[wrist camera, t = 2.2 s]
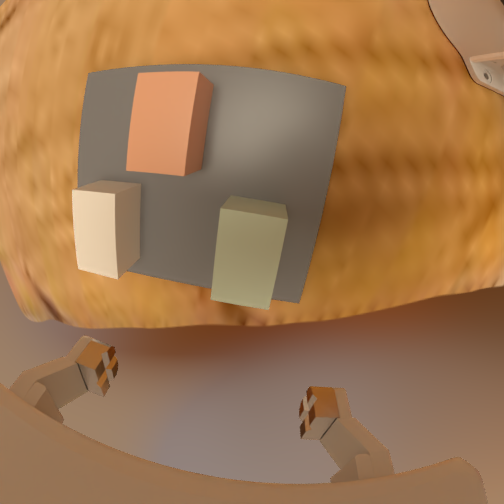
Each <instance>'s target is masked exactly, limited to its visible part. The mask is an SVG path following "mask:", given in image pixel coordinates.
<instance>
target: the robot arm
mask: <svg viewBox="0 0 504 504" xmlns="http://www.w3.org/2000/svg"><path fill="white" fill-rule="evenodd" d="M428 1H429V5H430V7H431V10H432V12H433V14H434V16H435V18H436V20H437V22H438V24H439V25H440V27H441V28H442V30H443V32H444V33H445V34H446V36H447V37H448V39H449V40H450V41H451V42H452V44H453V45H454V46H455V47H456V49H457V50H458V51H459V53H460V54H461V56H462V57H463V59H464V62H465V64H466V66H467V69H468V71H469V73H470V75H471V77H472V78H473V80H474V81H475V82H476V83H478V84H480V85H482V86H484V87H487V88H489V89H491V90H493V91H495V92H497V93H499V94H501V95H503V96H504V0H428ZM484 76H485V77H484ZM115 353H116V350H115V347H114V346H111V345H109V344H106V343H103V342H101V341H98V340H96V339H93V338H91V337H88V336H82V337H81V338H80V340H79V341H78V342H77V343H76V345H75V346H74V347H73V348H72V350H71V351H70V352H69V353H68V355H67V356H66V357H60V358H58V359H55V360H52V361H50V362H48V363H45V364H42V365H39V366H37V367H34V368H32V369H28V370H26V371H23V372H22V373H21V375H20V376H19V377H18V378H17V380H16V381H15V382H14V383H13V385H12V386H11V387H10V389H8V388H6V387H5V386H4V385H2V384H1V383H0V504H488V501H487V496H486V492H485V488H484V484H483V481H482V478H481V475H480V473H479V471H478V470H477V469H476V468H474V467H473V466H472V465H471V464H469V463H468V462H467V461H465V460H464V459H462V458H461V457H455V458H451V459H448V460H445V461H442V462H439V463H436V464H433V465H429V466H426V467H422V468H419V469H415V470H411V471H406V472H402V473H398V474H395V473H394V469H393V465H392V461H391V457H390V453H389V450H388V449H387V448H386V447H385V446H384V445H383V444H382V443H380V442H379V441H378V440H377V439H376V438H375V437H374V436H373V435H372V434H371V433H370V432H369V431H368V430H367V429H366V428H365V427H364V426H363V425H362V424H361V423H360V422H359V421H358V420H357V419H356V418H352V415H351V411H350V406H349V402H348V398H347V394H346V390H345V389H344V388H332V387H313V386H310V387H309V388H308V389H307V391H306V393H307V396H306V397H304V398H303V399H302V401H301V404H300V408H299V418H300V419H301V420H302V424H301V425H300V436H301V439H309V440H310V439H311V440H320V442H321V443H322V445H323V446H324V448H325V449H326V450H327V452H328V453H329V454H330V456H331V457H332V458H333V460H334V461H335V463H336V464H337V465H338V467H339V468H340V469H341V470H340V471H339V472H337V473H336V474H335V475H334V476H332V477H331V478H330V479H331V483H318V484H279V483H262V482H250V481H241V480H233V479H225V478H219V477H213V476H208V475H203V474H198V473H193V472H188V471H184V470H180V469H176V468H172V467H168V466H164V465H161V464H158V463H155V462H151V461H148V460H145V459H142V458H139V457H136V456H133V455H130V454H128V453H125V452H122V451H120V450H117V449H115V448H112V447H110V446H107V445H105V444H102V443H100V442H98V441H96V440H93V439H91V438H89V437H87V436H85V435H83V434H81V433H79V432H77V431H75V430H73V429H71V428H69V427H67V426H65V425H63V424H62V423H63V421H64V419H63V416H62V415H61V413H60V412H59V410H58V409H59V408H61V407H63V406H65V405H66V404H68V403H70V402H71V401H73V400H75V399H76V398H78V397H80V396H81V395H83V394H84V393H86V392H87V391H90V392H92V393H95V394H97V395H100V396H103V397H104V396H105V394H106V393H107V390H108V389H109V387H110V384H109V381H111V380H113V379H114V378H115V376H116V375H117V371H118V360H117V358H116V357H115V356H114V355H115Z"/></svg>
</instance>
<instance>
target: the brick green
mask: <svg viewBox="0 0 504 504" xmlns="http://www.w3.org/2000/svg"><path fill="white" fill-rule="evenodd" d="M287 223H288V216H287V210H286V205H285V204H280V203H274V202H269V201H263V200H257V199H251V198H245V197H239V196H232V195H231V196H230V197H229V198H228V199H227V201H226V202H225V203H224V204H223V206H222V207H221V208H220V216H219V224H218V233H217V242H216V251H215V260H214V270H213V280H212V291H211V300H215V301H220V302H225V303H231V304H236V305H242V306H248V307H254V308H260V309H266V310H269V307H270V302H271V298H272V293H273V289H274V284H275V280H276V275H277V271H278V266H279V261H280V257H281V252H282V247H283V242H284V238H285V233H286V228H287Z"/></svg>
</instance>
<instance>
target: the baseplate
mask: <svg viewBox="0 0 504 504" xmlns="http://www.w3.org/2000/svg"><path fill="white" fill-rule="evenodd" d="M172 71H193V72H200V73H201V74H202V75H204V76H205V77H206V78H207V79H208V80H209V81H210V82H211V83H212V84H214V87H213V92H212V98H211V104H210V111H209V117H208V124H207V130H206V137H205V145H204V152H203V160H202V168H201V170H199V171H196V172H194V173H191V174H189V175H186V176H177V175H168V174H158V173H147V172H136V171H126V164H127V150H128V140H129V130H130V122H131V114H132V107H133V100H134V94H135V88H136V82H137V77H138V73H147V72H172ZM345 91H346V86H343V85H340V84H336V83H332V82H328V81H324V80H320V79H315V78H311V77H306V76H301V75H296V74H290V73H285V72H278V71H272V70H265V69H257V68H248V67H237V66H224V65H202V64H172V65H150V66H137V67H127V68H119V69H111V70H104V71H98V72H92V73H88V79H87V84H86V90H85V96H84V103H83V110H82V118H81V127H80V139H79V154H78V188H76V189H73V190H72V205H73V224H74V236H75V247H76V255H77V263H78V269H80V270H84V271H88V272H91V273H95V274H99V275H103V276H107V277H111V278H115V279H119V278H120V277H121V276H122V275H123V274H124V273H125V272H126V271H130V272H134V273H138V274H143V275H147V276H152V277H157V278H161V279H166V280H171V281H176V282H181V283H186V284H191V285H196V286H201V287H206V288H211V289H212V280H213V270H214V260H215V251H216V242H217V233H218V224H219V216H220V208H221V207H222V206H223V204H224V203H225V202H226V201H227V199H228V198H229V197H230V196H231V195H232V196H239V197H245V198H251V199H257V200H263V201H269V202H274V203H280V204H285V205H286V210H287V216H288V223H287V228H286V233H285V238H284V242H283V247H282V252H281V257H280V261H279V266H278V271H277V275H276V280H275V284H274V289H273V293H272V298H271V299H274V300H280V301H287V302H293V303H299V302H300V298H301V295H302V291H303V288H304V284H305V281H306V277H307V273H308V269H309V266H310V262H311V258H312V254H313V250H314V246H315V242H316V238H317V234H318V230H319V226H320V221H321V217H322V213H323V208H324V204H325V199H326V195H327V190H328V186H329V181H330V176H331V171H332V166H333V161H334V156H335V151H336V145H337V140H338V134H339V128H340V123H341V117H342V110H343V104H344V98H345Z"/></svg>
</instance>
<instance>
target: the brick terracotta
mask: <svg viewBox="0 0 504 504" xmlns="http://www.w3.org/2000/svg"><path fill="white" fill-rule="evenodd" d="M213 87H214V84H212V83H211V82H210V81H209V80H208V79H207V78H206V77H205V76H204V75H202V74H201V73H200V72H193V71H172V72H147V73H138V77H137V82H136V88H135V94H134V100H133V107H132V114H131V122H130V130H129V140H128V150H127V164H126V171H136V172H147V173H158V174H168V175H177V176H186V175H189V174H191V173H194V172H196V171H199V170H201V168H202V160H203V152H204V145H205V137H206V130H207V124H208V117H209V111H210V104H211V98H212V92H213Z"/></svg>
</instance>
